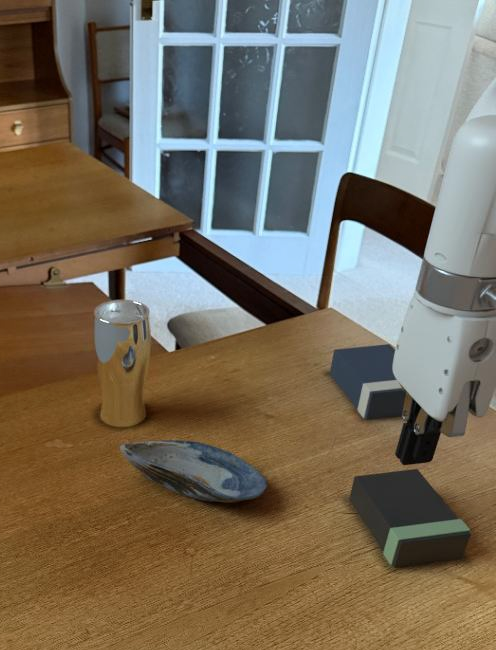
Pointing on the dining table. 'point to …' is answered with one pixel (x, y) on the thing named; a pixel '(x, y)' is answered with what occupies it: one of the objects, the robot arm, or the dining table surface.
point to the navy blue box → (369, 380)
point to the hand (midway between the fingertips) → (413, 458)
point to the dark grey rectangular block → (408, 518)
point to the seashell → (196, 470)
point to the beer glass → (122, 359)
